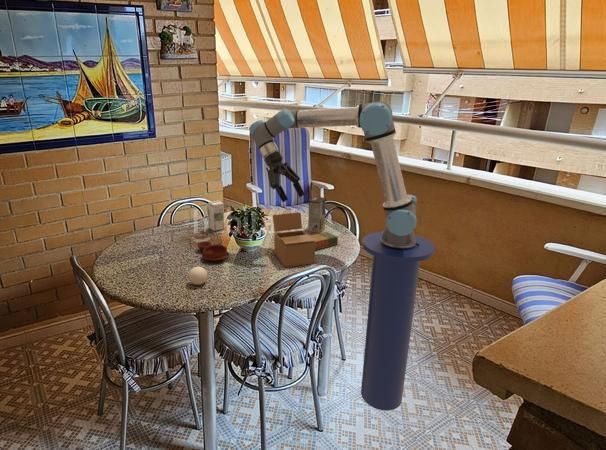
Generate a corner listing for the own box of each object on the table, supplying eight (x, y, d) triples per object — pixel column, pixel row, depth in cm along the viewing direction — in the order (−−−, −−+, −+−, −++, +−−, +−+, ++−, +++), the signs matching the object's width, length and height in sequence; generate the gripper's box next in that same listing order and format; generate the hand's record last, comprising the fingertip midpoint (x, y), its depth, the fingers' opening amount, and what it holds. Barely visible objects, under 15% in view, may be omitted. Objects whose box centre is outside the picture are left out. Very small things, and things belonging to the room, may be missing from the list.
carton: (299, 246, 189) (299, 237, 187) (326, 239, 197) (326, 230, 195) (310, 252, 182) (310, 243, 181) (337, 244, 190) (338, 235, 188)
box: (274, 253, 182) (274, 231, 178) (301, 249, 185) (302, 228, 181) (285, 267, 168) (285, 244, 165) (314, 263, 171) (315, 240, 168)
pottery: (209, 266, 169) (208, 257, 168) (189, 251, 185) (189, 242, 184) (233, 260, 175) (233, 250, 174) (212, 245, 191) (212, 236, 190)
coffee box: (313, 225, 215) (314, 196, 209) (325, 227, 212) (326, 197, 206) (307, 231, 207) (308, 200, 201) (319, 233, 204) (320, 202, 199)
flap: (274, 231, 178) (274, 231, 178) (302, 228, 181) (301, 228, 182) (272, 215, 178) (272, 215, 178) (300, 212, 181) (300, 212, 181)
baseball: (212, 282, 156) (211, 266, 154) (197, 289, 151) (196, 273, 149) (200, 277, 161) (199, 261, 158) (185, 284, 155) (184, 268, 153)
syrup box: (218, 226, 216) (217, 199, 211) (224, 229, 211) (223, 202, 207) (209, 228, 213) (207, 201, 208) (214, 231, 208) (213, 204, 204)
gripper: (281, 157, 188) (302, 197, 186) (248, 162, 168) (271, 207, 166) (292, 148, 183) (314, 189, 181) (260, 152, 164) (284, 199, 162)
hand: (294, 198), depth 174 cm, fingers open, 13 cm apart
